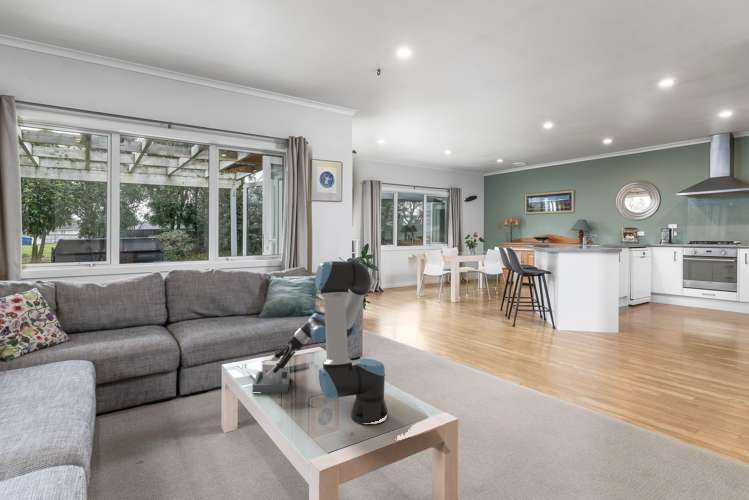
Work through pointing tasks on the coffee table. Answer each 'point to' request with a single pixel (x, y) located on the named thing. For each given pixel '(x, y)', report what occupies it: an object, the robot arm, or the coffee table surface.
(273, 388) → the tray
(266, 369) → the small box
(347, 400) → the coffee table surface
